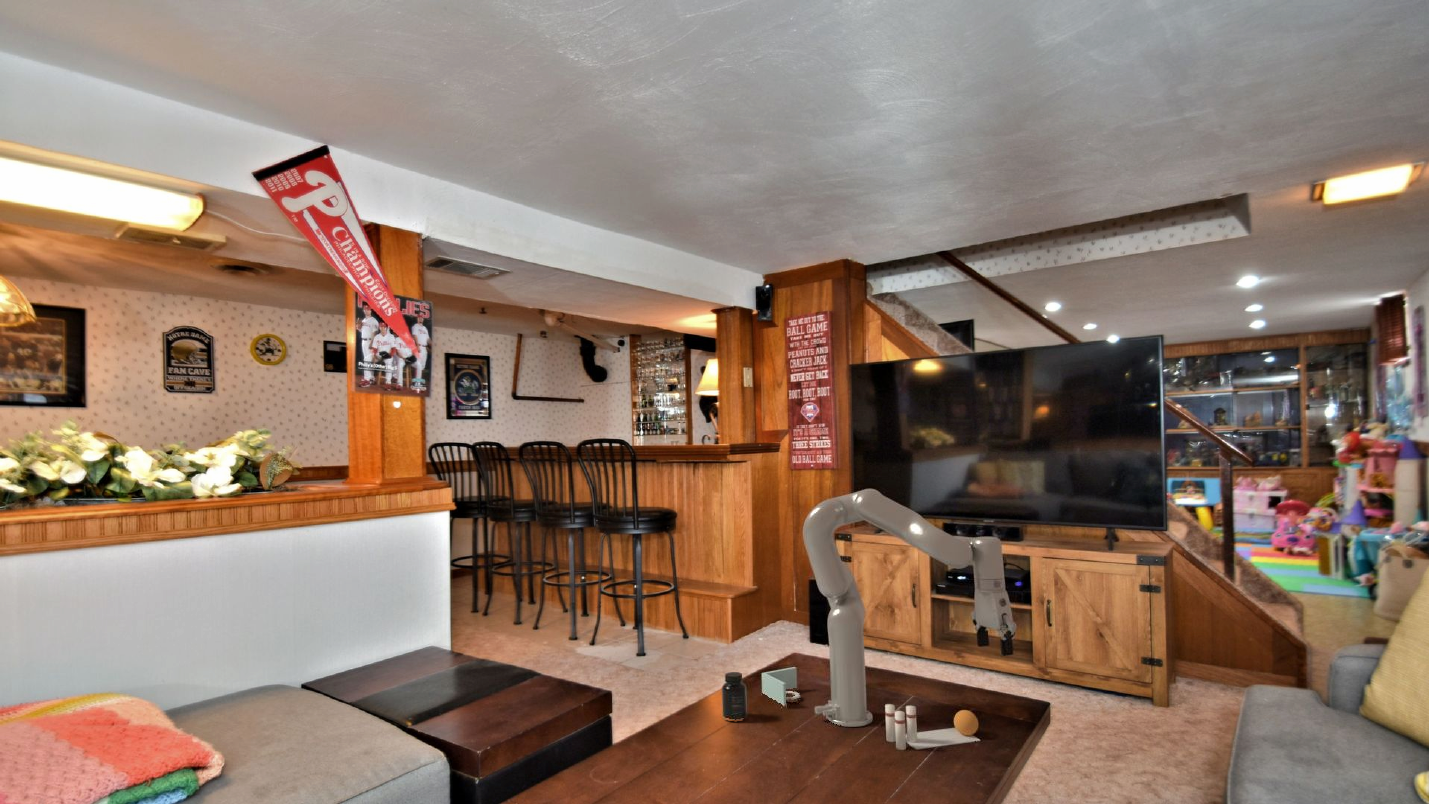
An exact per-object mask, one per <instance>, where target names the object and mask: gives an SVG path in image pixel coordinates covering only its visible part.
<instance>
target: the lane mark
mask: <svg viewBox="0 0 1429 804" xmlns="http://www.w3.org/2000/svg"><path fill="white" fill-rule="evenodd" d="M905 734H906V744H909V746H910V747H912V748H914V749H915V750H922V749H930V748H938V747H945V746H953V745H960V744H967V743H975V741H976V742H981V739H979V738H978V737H977V736H975V735H974V734H972V735H969V736H967V735H963V734H961V733H959V732H958V731H957V729H956V728H955V727H951V728H950V727H949V728H943V729H934V730H927V731H926V730H925V731H919V732H918V731H917V742H916V743H910V742H908V741H907V733H905Z"/></svg>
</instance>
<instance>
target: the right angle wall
mask: <svg viewBox="0 0 1429 804" xmlns="http://www.w3.org/2000/svg"><path fill="white" fill-rule="evenodd" d="M797 676H798V675H797V667H795V666H793V667H792V666H791V667H787V668H782V669H777V670H771V671H766V672H762V673H761V694H762V693H763V694H765V695H767V696H768V697H769V698H772V699H773V700H776V701H777V702H778V703H781V704H782V705H783V706H785V705H786V706H787V703H786V700H794V699H797V698H801V695H800V692H797V691H794V692H793V691H786V689H793V688H797V689H798V679H797V678H798V677H797ZM787 693H788V694H792V695H795V696H793V697H786V694H787Z"/></svg>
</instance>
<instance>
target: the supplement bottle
mask: <svg viewBox="0 0 1429 804" xmlns="http://www.w3.org/2000/svg"><path fill="white" fill-rule="evenodd" d="M724 682H725V683H723V685H722V687H721V699H722V700H721V703H722V704H721V705H722V717H723V716H724V717H725V718H729V719H735V720H736V719H741V718H745V717H746V716H747V717H748V705H747V704H748V703H747V686H746V684H745V683H743V673H741V672H737V671H731V672H727V673H725V675H724Z"/></svg>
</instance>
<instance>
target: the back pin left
mask: <svg viewBox="0 0 1429 804" xmlns="http://www.w3.org/2000/svg"><path fill="white" fill-rule="evenodd" d="M884 708H885V709H884V710H885V713H884V714H885V731H886V732H885V734H886V735H885V736H886V741H887V742H890V743H896V732H895V711H896V706H895V705H894V704H891V703H887V704H885V705H884Z"/></svg>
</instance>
